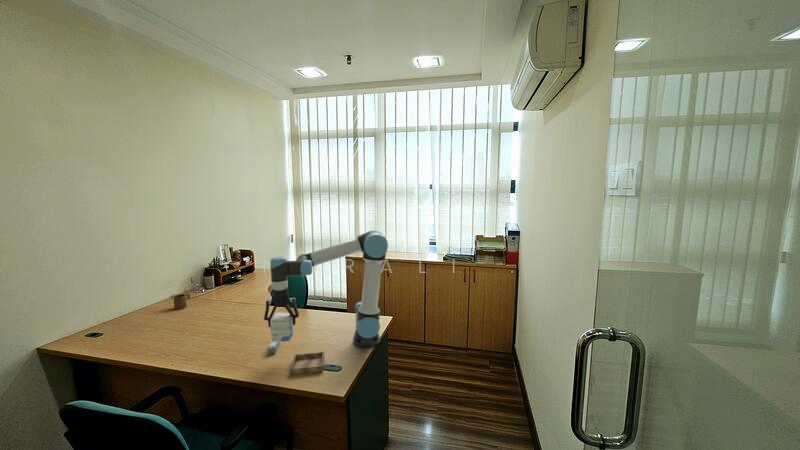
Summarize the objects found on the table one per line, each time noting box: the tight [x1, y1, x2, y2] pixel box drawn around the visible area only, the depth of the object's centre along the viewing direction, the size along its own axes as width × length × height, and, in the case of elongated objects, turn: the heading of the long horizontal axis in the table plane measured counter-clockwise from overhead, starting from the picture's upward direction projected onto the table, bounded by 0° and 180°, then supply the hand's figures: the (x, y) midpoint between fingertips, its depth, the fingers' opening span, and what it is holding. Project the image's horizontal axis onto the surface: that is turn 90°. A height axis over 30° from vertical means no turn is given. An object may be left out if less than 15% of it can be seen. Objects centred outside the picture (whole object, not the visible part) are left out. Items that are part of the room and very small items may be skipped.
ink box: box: [270, 312, 294, 342], centre depth 157 cm, size 9×8×12 cm
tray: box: [290, 351, 325, 376], centre depth 154 cm, size 15×14×3 cm
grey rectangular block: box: [267, 340, 281, 355], centre depth 170 cm, size 10×4×4 cm, turn 9°
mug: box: [173, 292, 191, 311], centre depth 233 cm, size 12×8×9 cm, turn 167°
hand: (282, 331), depth 157 cm, fingers closed on ink box, 9 cm apart
